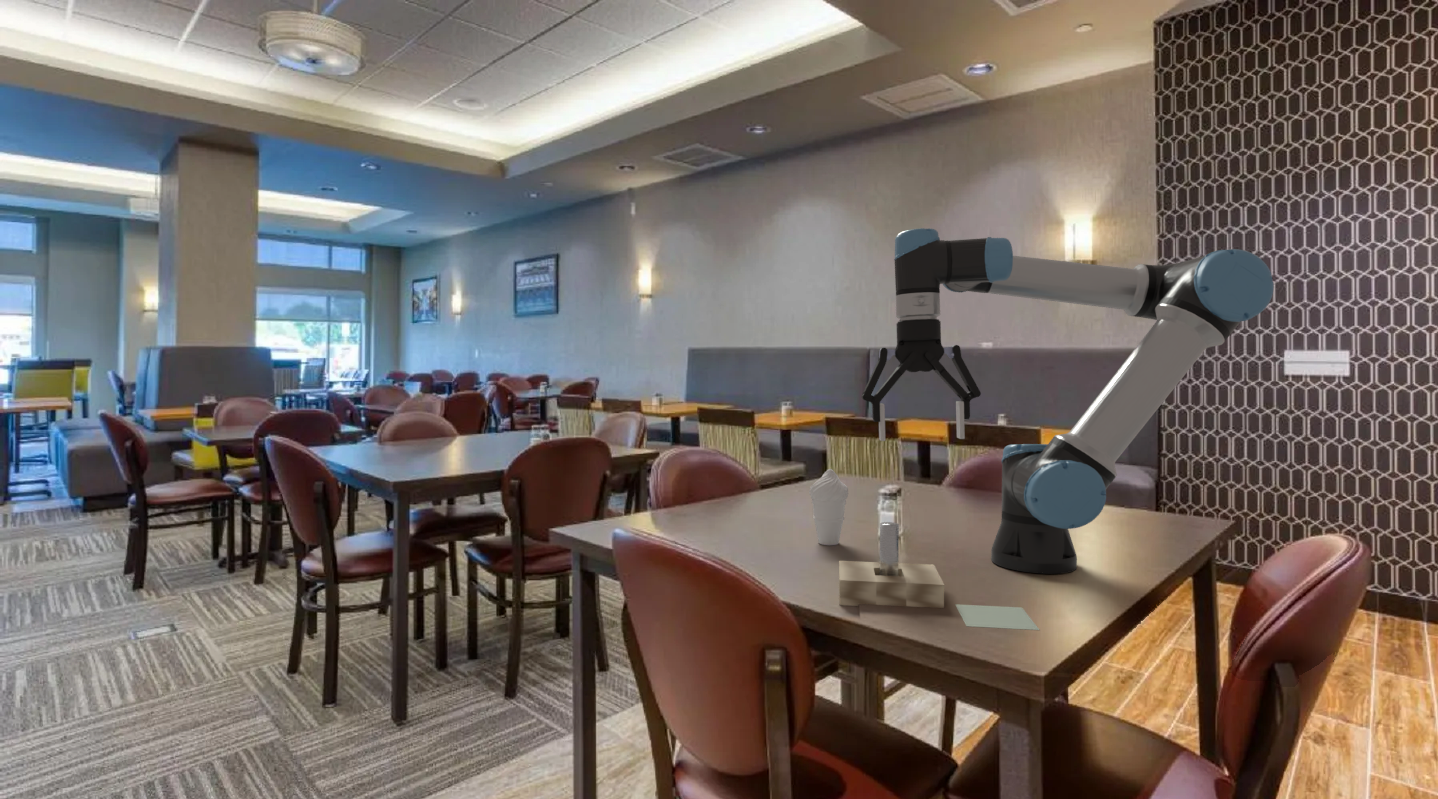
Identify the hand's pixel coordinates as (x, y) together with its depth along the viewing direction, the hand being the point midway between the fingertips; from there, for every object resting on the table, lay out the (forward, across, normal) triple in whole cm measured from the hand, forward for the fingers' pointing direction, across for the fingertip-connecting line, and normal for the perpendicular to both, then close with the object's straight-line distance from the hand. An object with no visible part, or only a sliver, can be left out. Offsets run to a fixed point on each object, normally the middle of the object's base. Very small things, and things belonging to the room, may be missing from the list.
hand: (921, 439), depth 131 cm
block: (+25, -8, -11) cm, 28 cm away
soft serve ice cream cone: (+24, -16, +26) cm, 39 cm away
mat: (+25, +7, -21) cm, 33 cm away
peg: (+25, -8, -11) cm, 28 cm away
